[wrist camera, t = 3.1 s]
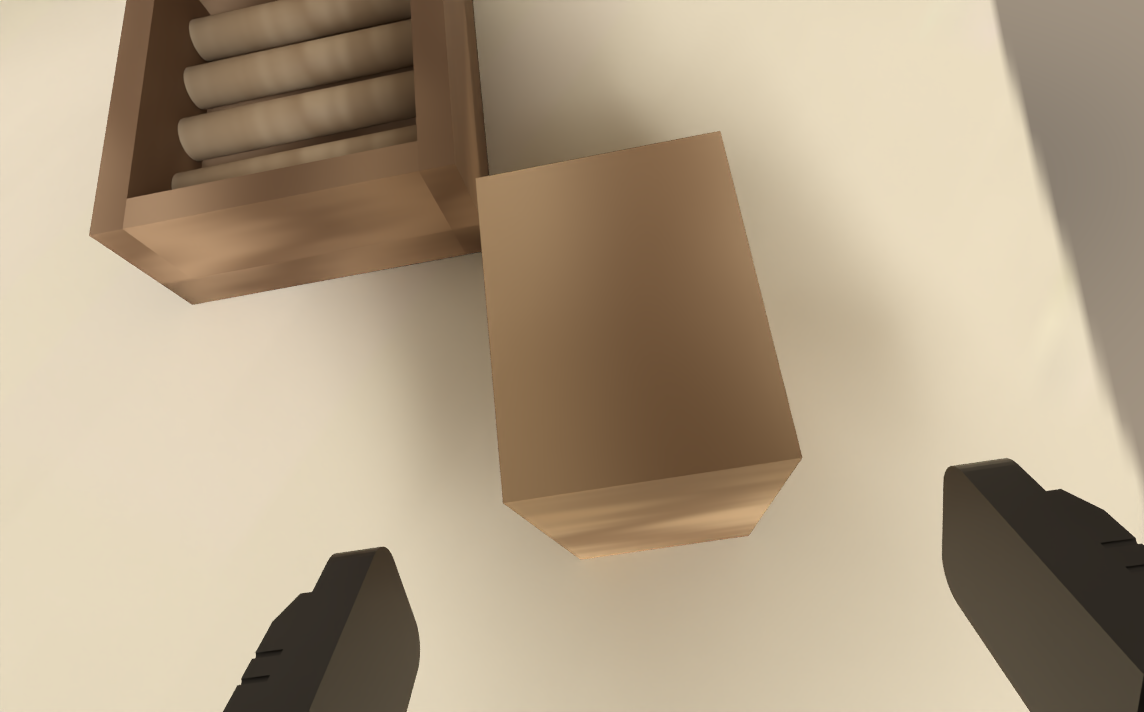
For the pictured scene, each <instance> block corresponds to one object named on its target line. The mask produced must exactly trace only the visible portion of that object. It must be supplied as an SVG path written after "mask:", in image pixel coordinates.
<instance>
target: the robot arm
mask: <svg viewBox="0 0 1144 712" xmlns="http://www.w3.org/2000/svg"><path fill="white" fill-rule="evenodd" d="M942 560H943V567H944V572H945V576H946V579H947V582H948V585H949V588H950V590H951V593H952V595H953V597H954V599H955V600H956V602H957V604H958V605H959V607H960V608H961V610H962V611H963V613H964V614H965V616H966V617H967V619H968V620H969V622H970V623H971V625H972V626H973V628H974V629H975V631H976V632H977V633H978V635H979V636H980V638H981V639H982V641H983V642H984V644H985V645H986V647H987V648H988V650H989V651H990V653H991V654H992V656H993V657H994V659H995V660H996V662H997V663H998V665H999V666H1000V668H1001V669H1002V671H1003V672H1004V674H1005V675H1006V677H1007V678H1008V680H1009V681H1010V683H1011V684H1012V685H1013V687H1014V688H1015V690H1016V691H1017V693H1018V694H1019V696H1020V697H1021V699H1022V700H1023V702H1024V703H1025V705H1026V706H1027V708H1028V709H1029V711H1030V712H1144V545H1143V544H1137V542H1136V538H1135V537H1134V536H1133V535H1132V534H1130V533H1129V532H1128V531H1127V530H1126V529H1125V528H1124V527H1123V526H1121V525H1120V524H1119V523H1118V522H1117V521H1116V520H1115V519H1113V518H1112V517H1111V516H1110V515H1109V514H1108V513H1107V512H1106V511H1104V510H1103V509H1101V508H1099V507H1097V506H1095V505H1092V504H1090V503H1088V502H1086V501H1084V500H1082V499H1080V498H1078V497H1076V496H1074V495H1072V494H1070V493H1068V492H1066V491H1064V490H1062V489H1058V490H1051V491H1045V490H1044V489H1043V488H1042V487H1041V486H1040V485H1039V484H1038V483H1037V482H1036V481H1035V480H1034V479H1033V478H1032V477H1031V476H1030V475H1029V474H1027V473H1026V472H1025V471H1024V470H1023V469H1022V468H1021V467H1020V466H1019V465H1018V464H1017V463H1016V462H1014V461H1013V460H1011V459H1008V458H1004V459H997V460H990V461H983V462H976V463H969V464H963V465H956V466H950V467H948V468H947V470H946V472H945V475H944V484H943V533H942ZM419 659H420V641H419V633H418V628H417V624H416V621H415V618H414V615H413V612H412V610H411V607H410V604H409V601H408V598H407V596H406V593H405V590H404V587H403V584H402V581H401V579H400V576H399V573H398V570H397V567H396V565H395V562H394V559H393V557H392V554H391V553H390V551H389V550H388V549H387V548H386V547H377V548H370V549H363V550H357V551H350V552H343V553H336V554H334V555H332V556H331V557H330V559H329V560H328V562H327V564H326V566H325V568H324V570H323V572H322V574H321V576H320V578H319V580H318V582H317V584H316V586H315V588H314V589H313V591H312V592H309V593H302V594H300V595H299V596H298V597H297V598H296V599H295V600H294V601H293V602H292V603H291V604H290V605H289V606H288V607H287V608H286V609H285V610H284V611H283V612H282V613H281V614H280V615H279V616H278V617H277V618H276V619H275V620H274V621H273V622H272V624H271V626H270V627H269V629H268V631H267V633H266V635H265V636H264V638H263V640H262V642H261V644H260V646H259V647H258V649H257V651H256V658H255V659H252V660H251V662H250V664H249V665H248V667H247V669H246V671H245V673H244V675H243V676H242V678H241V680H242V683H241V685H237V687H236V689H235V691H234V693H233V695H232V696H231V698H230V700H229V702H228V704H227V705H226V707H225V709H224V711H223V712H406V711H407V708H408V704H409V700H410V697H411V693H412V689H413V686H414V682H415V678H416V675H417V671H418V667H419Z"/></svg>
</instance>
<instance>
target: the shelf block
mask: <svg viewBox="0 0 1144 712" xmlns="http://www.w3.org/2000/svg"><path fill="white" fill-rule="evenodd" d="M476 189H477V201H478V213H479V225H480V237H481V248H482V260H483V272H484V284H485V296H486V307H487V319H488V331H489V343H490V355H491V366H492V378H493V390H494V402H495V413H496V425H497V437H498V449H499V461H500V472H501V484H502V496H503V503H504V504H505V505H506V506H508V507H509V508H511V509H512V510H513V511H515V512H516V513H517V514H519V515H520V516H522V517H523V518H524V519H526V520H527V521H528V522H530V523H531V524H533V525H534V526H535V527H537V528H538V529H539V530H541V531H542V532H544V533H545V534H546V535H548V536H549V537H550V538H552V539H553V540H555V541H556V542H557V543H559V544H560V545H561V546H563V547H564V548H566V549H567V550H568V551H570V552H571V553H572V554H574V555H575V556H577V557H578V558H579V559H588V558H595V557H602V556H609V555H616V554H623V553H630V552H637V551H644V550H651V549H658V548H665V547H672V546H679V545H686V544H693V543H700V542H707V541H714V540H721V539H728V538H735V537H742V536H749V534H750V533H751V531H752V530H753V529H754V527H755V526H756V524H757V523H758V521H759V520H760V518H761V517H762V515H763V514H764V513H765V511H766V510H767V508H768V507H769V505H770V504H771V502H772V501H773V500H774V498H775V497H776V495H777V494H778V492H779V491H780V489H781V488H782V486H783V485H784V484H785V482H786V481H787V479H788V478H789V476H790V475H791V473H792V472H793V470H794V469H795V468H796V466H797V465H798V463H799V462H800V460H801V459H802V455H801V451H800V447H799V443H798V439H797V435H796V431H795V427H794V423H793V419H792V415H791V411H790V407H789V403H788V399H787V395H786V391H785V387H784V383H783V379H782V375H781V371H780V367H779V363H778V359H777V355H776V351H775V347H774V343H773V339H772V335H771V331H770V327H769V323H768V319H767V315H766V311H765V307H764V303H763V299H762V295H761V292H760V288H759V284H758V280H757V276H756V272H755V268H754V264H753V260H752V256H751V252H750V248H749V244H748V240H747V236H746V232H745V228H744V224H743V220H742V216H741V212H740V208H739V204H738V200H737V196H736V192H735V188H734V184H733V180H732V176H731V172H730V168H729V164H728V160H727V156H726V152H725V148H724V144H723V140H722V136H721V132H720V131H718V132H712V133H707V134H702V135H697V136H692V137H687V138H681V139H676V140H671V141H666V142H661V143H656V144H650V145H645V146H640V147H635V148H630V149H624V150H619V151H614V152H609V153H604V154H599V155H593V156H588V157H583V158H578V159H573V160H568V161H562V162H557V163H552V164H547V165H542V166H537V167H531V168H526V169H521V170H516V171H511V172H506V173H500V174H495V175H490V176H485V177H480V178H476Z"/></svg>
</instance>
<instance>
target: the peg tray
mask: <svg viewBox="0 0 1144 712" xmlns="http://www.w3.org/2000/svg"><path fill="white" fill-rule="evenodd" d="M485 176H489V170H488V159H487V149H486V138H485V127H484V117H483V106H482V96H481V85H480V75H479V64H478V53H477V43H476V32H475V22H474V11H473V0H127V1H126V7H125V13H124V20H123V26H122V32H121V39H120V45H119V51H118V57H117V64H116V70H115V76H114V83H113V89H112V95H111V101H110V108H109V114H108V120H107V127H106V133H105V139H104V146H103V152H102V158H101V164H100V171H99V177H98V183H97V190H96V196H95V202H94V208H93V215H92V221H91V227H90V234H89V236H91V237H92V238H94V239H95V240H97V241H98V242H100V243H101V244H103V245H104V246H106V247H107V248H109V249H110V250H112V251H113V252H115V253H116V254H118V255H119V256H121V257H122V258H123V259H125V260H126V261H128V262H129V263H131V264H132V265H134V266H135V267H137V268H138V269H140V270H141V271H143V272H144V273H146V274H147V275H149V276H150V277H152V278H153V279H155V280H156V281H158V282H159V283H161V284H162V285H164V286H165V287H167V288H168V289H170V290H171V291H173V292H174V293H176V294H177V295H179V296H180V297H182V298H183V299H185V300H186V301H188V302H189V303H191V304H192V305H193V304H199V303H204V302H210V301H215V300H220V299H226V298H231V297H237V296H242V295H248V294H253V293H258V292H264V291H269V290H275V289H280V288H286V287H291V286H297V285H302V284H307V283H313V282H318V281H324V280H329V279H335V278H340V277H345V276H351V275H356V274H362V273H367V272H373V271H378V270H384V269H389V268H394V267H400V266H405V265H411V264H416V263H422V262H427V261H433V260H438V259H443V258H449V257H454V256H460V255H465V254H471V253H476V252H481V251H482V248H481V237H480V225H479V213H478V201H477V189H476V178H480V177H485Z"/></svg>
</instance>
